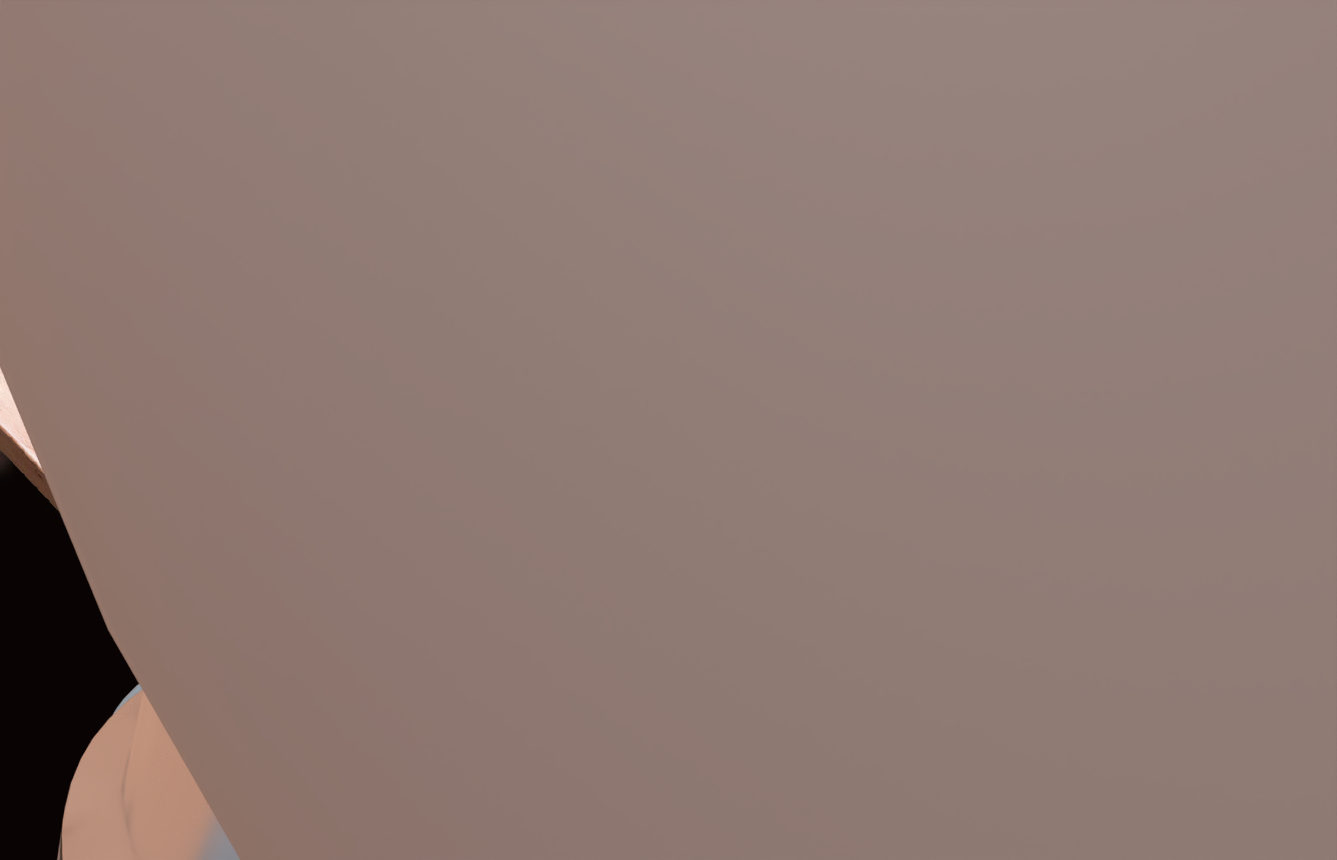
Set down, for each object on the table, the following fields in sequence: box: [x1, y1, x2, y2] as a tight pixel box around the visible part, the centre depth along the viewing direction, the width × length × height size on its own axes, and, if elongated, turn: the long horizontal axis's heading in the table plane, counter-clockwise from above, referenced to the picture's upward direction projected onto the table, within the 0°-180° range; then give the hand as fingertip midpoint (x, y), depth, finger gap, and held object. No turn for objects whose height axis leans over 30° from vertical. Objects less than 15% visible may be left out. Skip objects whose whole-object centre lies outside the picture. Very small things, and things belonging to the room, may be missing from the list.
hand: (449, 609), depth 61 cm, fingers open, 9 cm apart
